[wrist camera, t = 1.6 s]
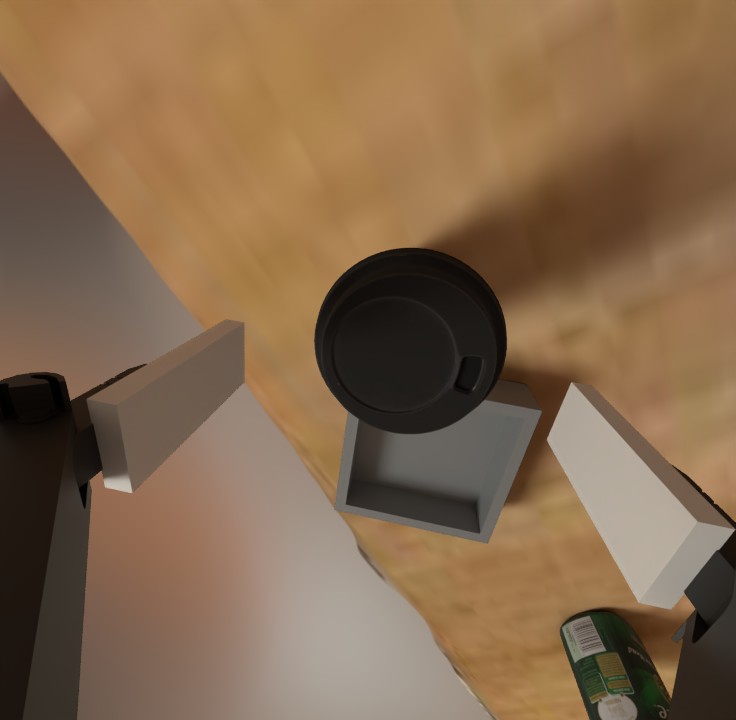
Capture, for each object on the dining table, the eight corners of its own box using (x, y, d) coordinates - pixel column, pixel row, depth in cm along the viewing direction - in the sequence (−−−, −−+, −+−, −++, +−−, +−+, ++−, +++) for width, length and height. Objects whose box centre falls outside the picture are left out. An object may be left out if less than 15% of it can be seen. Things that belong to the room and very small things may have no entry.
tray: (526, 384, 31) (542, 411, 27) (480, 506, 37) (487, 543, 33) (361, 353, 32) (353, 374, 28) (343, 477, 38) (334, 509, 34)
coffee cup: (481, 328, 30) (532, 429, 16) (376, 354, 32) (343, 462, 18) (456, 214, 27) (494, 219, 13) (342, 252, 29) (271, 291, 15)
